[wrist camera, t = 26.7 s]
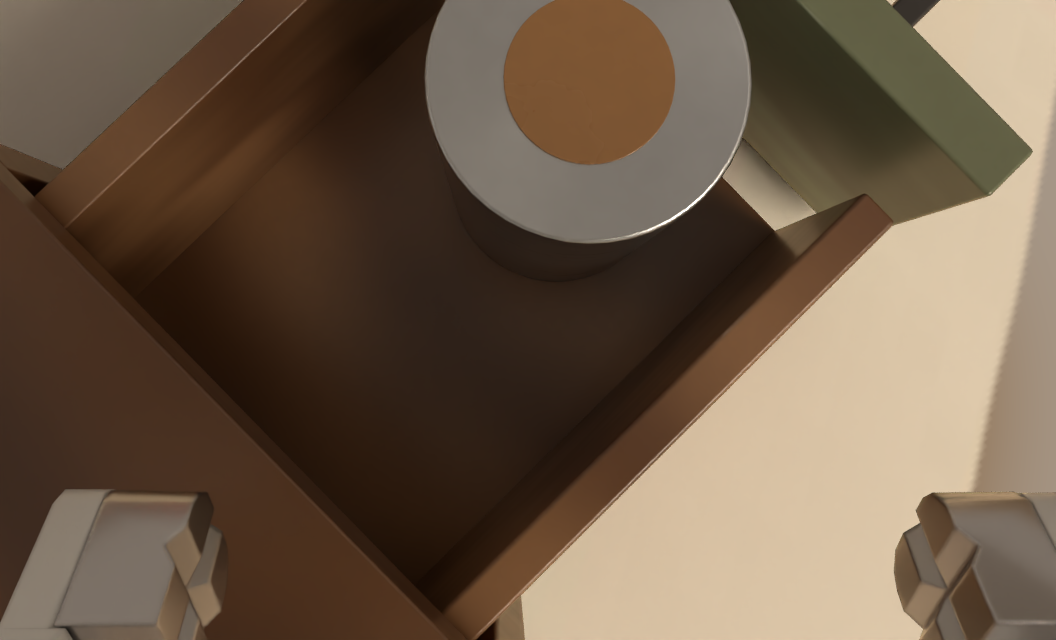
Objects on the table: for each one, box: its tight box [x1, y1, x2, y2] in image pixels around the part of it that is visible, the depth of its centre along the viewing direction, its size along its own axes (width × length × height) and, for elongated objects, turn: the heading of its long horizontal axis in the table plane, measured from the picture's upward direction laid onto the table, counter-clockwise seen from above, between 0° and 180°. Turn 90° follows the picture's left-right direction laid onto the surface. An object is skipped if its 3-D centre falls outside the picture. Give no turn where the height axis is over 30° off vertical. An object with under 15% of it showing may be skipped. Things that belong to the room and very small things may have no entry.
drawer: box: [34, 0, 1033, 640], centre depth 19 cm, size 20×13×7 cm, turn 134°
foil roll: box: [424, 0, 752, 282], centre depth 18 cm, size 5×5×8 cm
